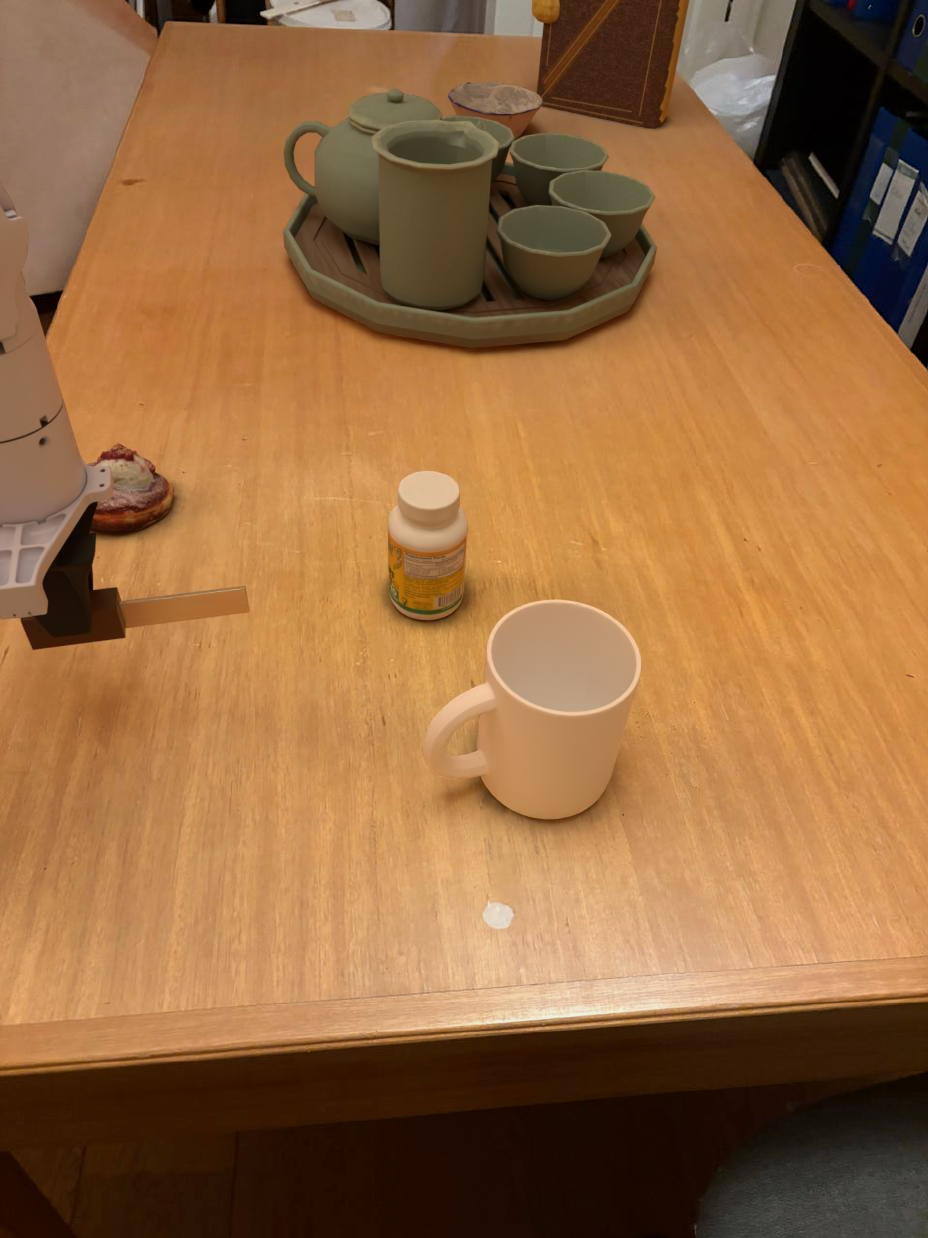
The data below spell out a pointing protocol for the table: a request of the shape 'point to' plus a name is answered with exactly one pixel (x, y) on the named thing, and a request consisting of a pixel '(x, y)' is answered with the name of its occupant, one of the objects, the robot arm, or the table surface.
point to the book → (610, 57)
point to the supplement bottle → (427, 546)
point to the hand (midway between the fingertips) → (72, 616)
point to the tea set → (464, 227)
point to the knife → (141, 614)
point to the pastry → (131, 492)
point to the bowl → (497, 103)
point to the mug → (544, 709)
